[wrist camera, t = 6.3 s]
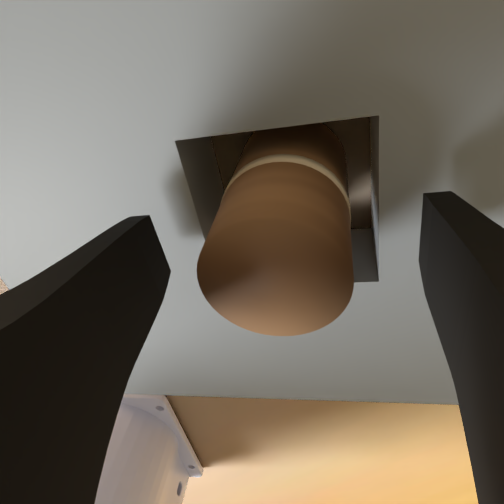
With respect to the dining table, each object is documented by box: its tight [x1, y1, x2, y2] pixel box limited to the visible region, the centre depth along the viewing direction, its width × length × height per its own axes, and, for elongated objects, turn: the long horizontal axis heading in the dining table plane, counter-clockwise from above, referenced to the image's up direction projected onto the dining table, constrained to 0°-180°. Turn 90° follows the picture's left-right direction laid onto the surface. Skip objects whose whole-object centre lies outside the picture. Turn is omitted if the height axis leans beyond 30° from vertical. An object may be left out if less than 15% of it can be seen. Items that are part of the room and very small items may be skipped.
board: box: [0, 0, 504, 405], centre depth 13 cm, size 18×22×3 cm
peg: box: [197, 123, 354, 336], centre depth 12 cm, size 4×4×6 cm
